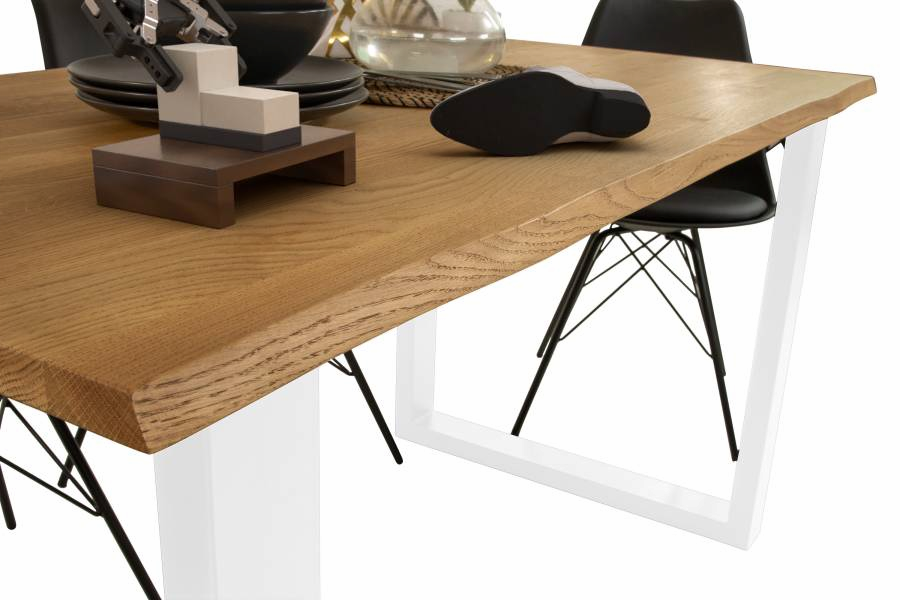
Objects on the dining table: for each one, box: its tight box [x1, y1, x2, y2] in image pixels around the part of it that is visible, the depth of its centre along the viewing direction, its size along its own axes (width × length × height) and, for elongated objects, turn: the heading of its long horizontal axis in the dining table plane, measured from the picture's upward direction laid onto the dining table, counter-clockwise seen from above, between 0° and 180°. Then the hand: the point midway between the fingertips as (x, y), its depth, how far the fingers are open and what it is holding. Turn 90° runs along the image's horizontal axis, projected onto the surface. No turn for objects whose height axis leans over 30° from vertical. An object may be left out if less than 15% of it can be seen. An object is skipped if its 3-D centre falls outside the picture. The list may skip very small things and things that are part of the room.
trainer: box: [156, 42, 302, 152], centre depth 91 cm, size 12×6×8 cm, turn 61°
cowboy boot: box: [429, 65, 652, 157], centre depth 123 cm, size 10×28×25 cm
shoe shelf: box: [91, 123, 357, 230], centre depth 93 cm, size 14×20×5 cm
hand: (209, 81), depth 91 cm, fingers open, 8 cm apart
